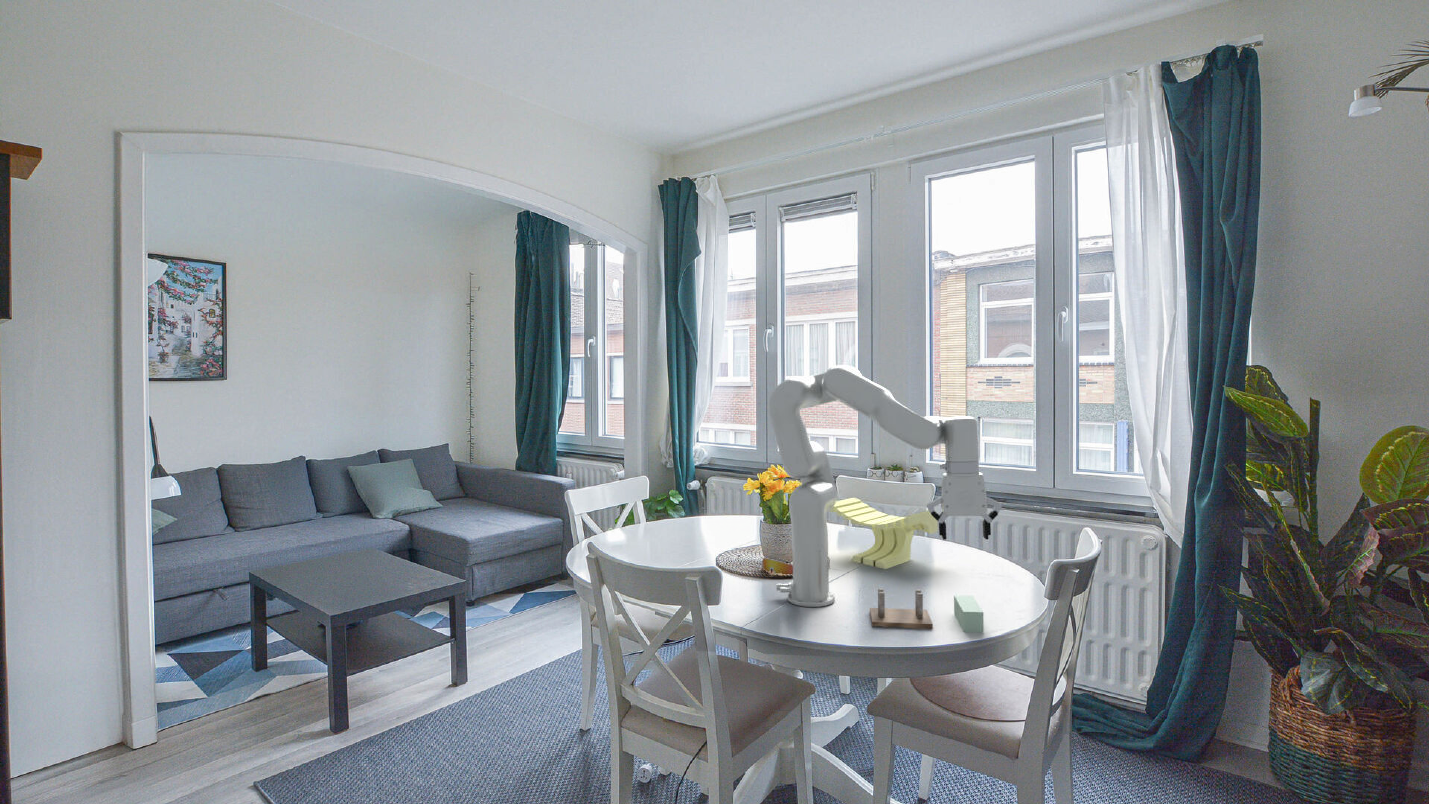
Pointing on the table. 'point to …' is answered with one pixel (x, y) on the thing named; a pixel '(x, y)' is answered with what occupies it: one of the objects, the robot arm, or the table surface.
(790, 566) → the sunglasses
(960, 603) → the mint green rectangular block
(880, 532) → the slatted curved stool
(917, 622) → the peg stand
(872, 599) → the table surface
